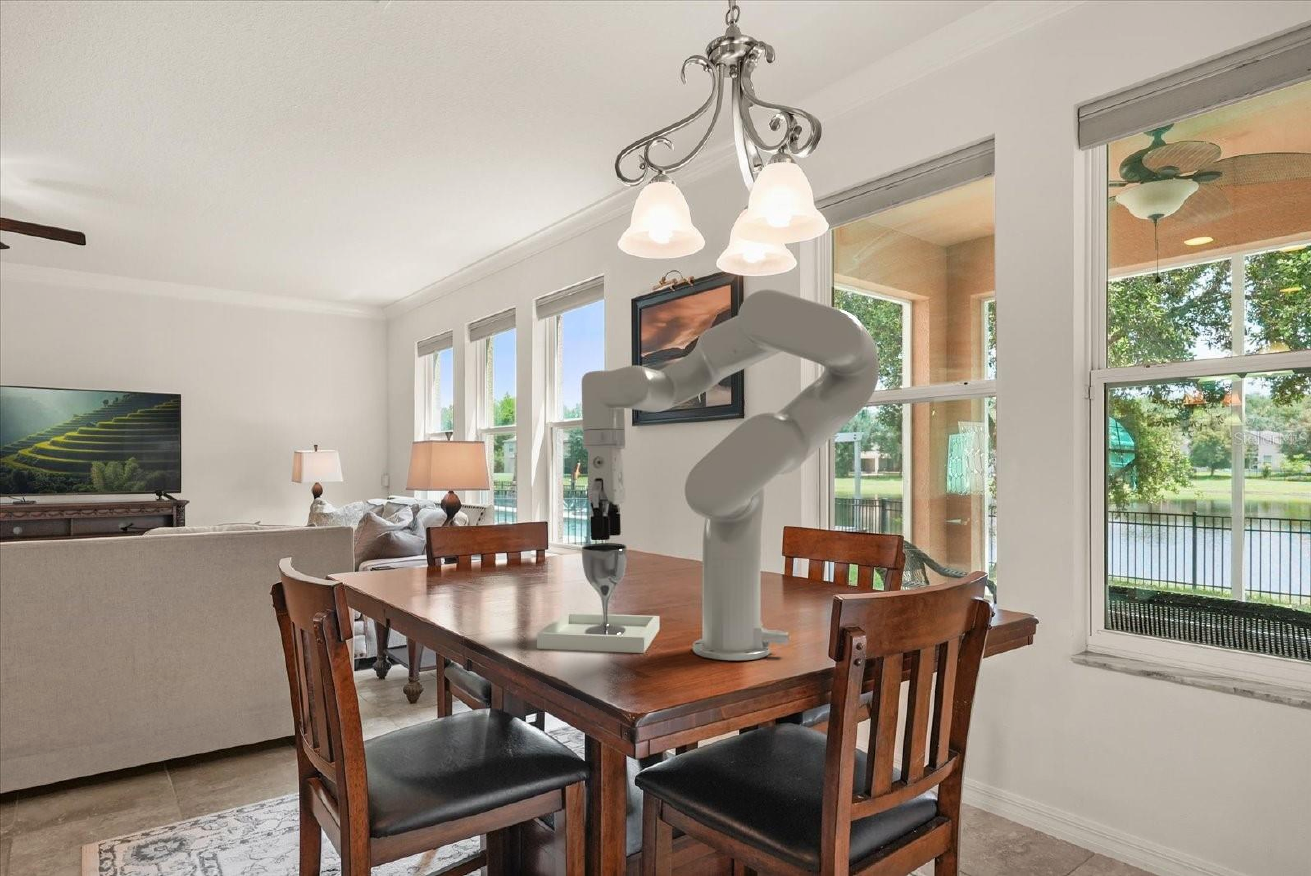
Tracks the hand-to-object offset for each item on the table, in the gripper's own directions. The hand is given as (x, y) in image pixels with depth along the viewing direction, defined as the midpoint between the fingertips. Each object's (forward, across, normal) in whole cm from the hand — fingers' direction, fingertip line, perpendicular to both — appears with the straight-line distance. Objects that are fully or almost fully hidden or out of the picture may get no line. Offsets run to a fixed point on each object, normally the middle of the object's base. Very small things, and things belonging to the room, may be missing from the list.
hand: (606, 537), depth 134 cm
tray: (+18, 0, +1) cm, 18 cm away
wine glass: (+17, +2, +1) cm, 17 cm away
